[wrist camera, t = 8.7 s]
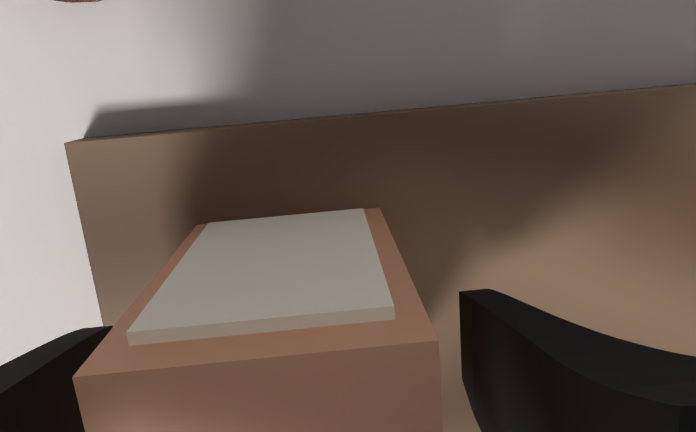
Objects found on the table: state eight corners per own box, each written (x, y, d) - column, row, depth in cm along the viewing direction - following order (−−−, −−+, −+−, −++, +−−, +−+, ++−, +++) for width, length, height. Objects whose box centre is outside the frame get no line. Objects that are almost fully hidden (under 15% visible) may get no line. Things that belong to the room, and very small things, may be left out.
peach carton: (391, 370, 15) (451, 622, 8) (223, 387, 15) (138, 658, 8) (378, 199, 14) (437, 325, 7) (196, 216, 13) (67, 362, 7)
